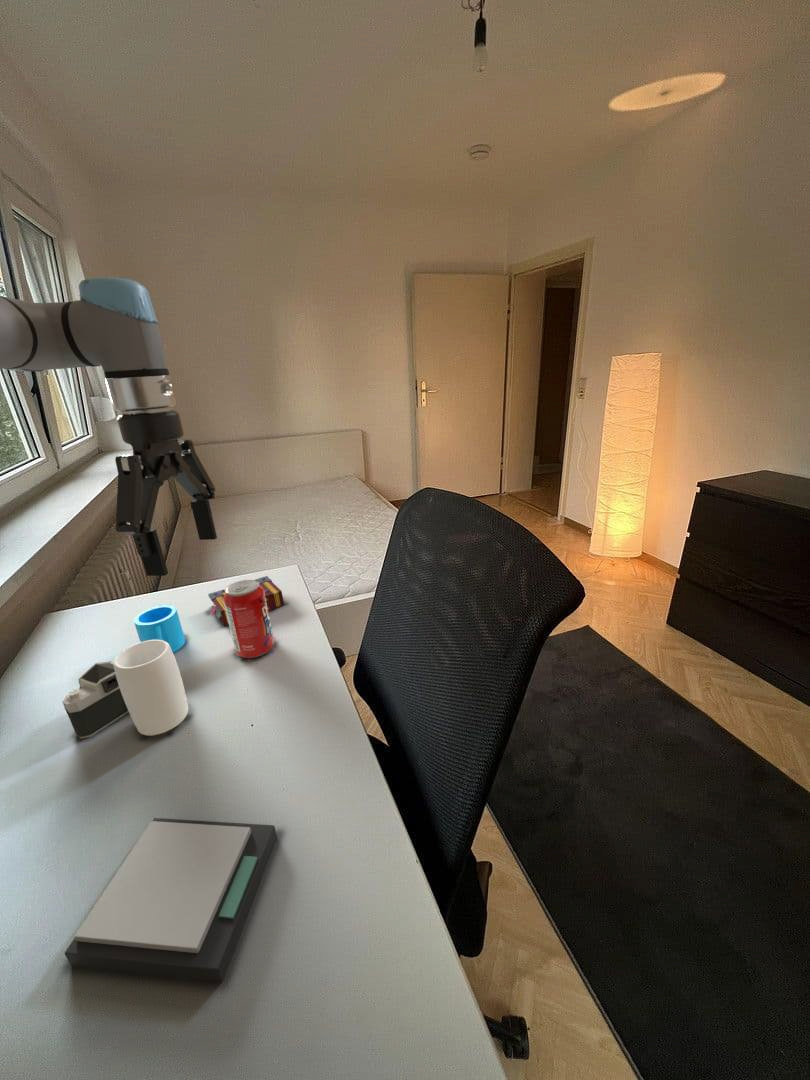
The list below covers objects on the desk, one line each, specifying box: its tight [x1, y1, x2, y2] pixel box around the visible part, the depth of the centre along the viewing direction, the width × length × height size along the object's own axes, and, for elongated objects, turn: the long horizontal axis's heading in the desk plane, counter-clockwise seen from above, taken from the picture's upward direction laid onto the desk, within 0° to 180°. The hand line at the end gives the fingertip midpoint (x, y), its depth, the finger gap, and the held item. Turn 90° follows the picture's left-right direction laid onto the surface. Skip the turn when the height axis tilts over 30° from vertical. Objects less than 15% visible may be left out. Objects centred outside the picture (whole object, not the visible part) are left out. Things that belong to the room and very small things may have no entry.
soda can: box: [223, 579, 275, 659], centre depth 91 cm, size 8×8×15 cm
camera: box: [62, 661, 129, 739], centre depth 78 cm, size 16×9×10 cm, turn 149°
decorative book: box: [207, 575, 285, 627], centre depth 109 cm, size 11×16×5 cm
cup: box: [113, 640, 189, 737], centre depth 72 cm, size 8×8×14 cm
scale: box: [64, 817, 278, 983], centre depth 49 cm, size 16×14×3 cm
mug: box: [133, 604, 186, 653], centre depth 93 cm, size 12×8×8 cm
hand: (185, 555), depth 67 cm, fingers open, 13 cm apart
